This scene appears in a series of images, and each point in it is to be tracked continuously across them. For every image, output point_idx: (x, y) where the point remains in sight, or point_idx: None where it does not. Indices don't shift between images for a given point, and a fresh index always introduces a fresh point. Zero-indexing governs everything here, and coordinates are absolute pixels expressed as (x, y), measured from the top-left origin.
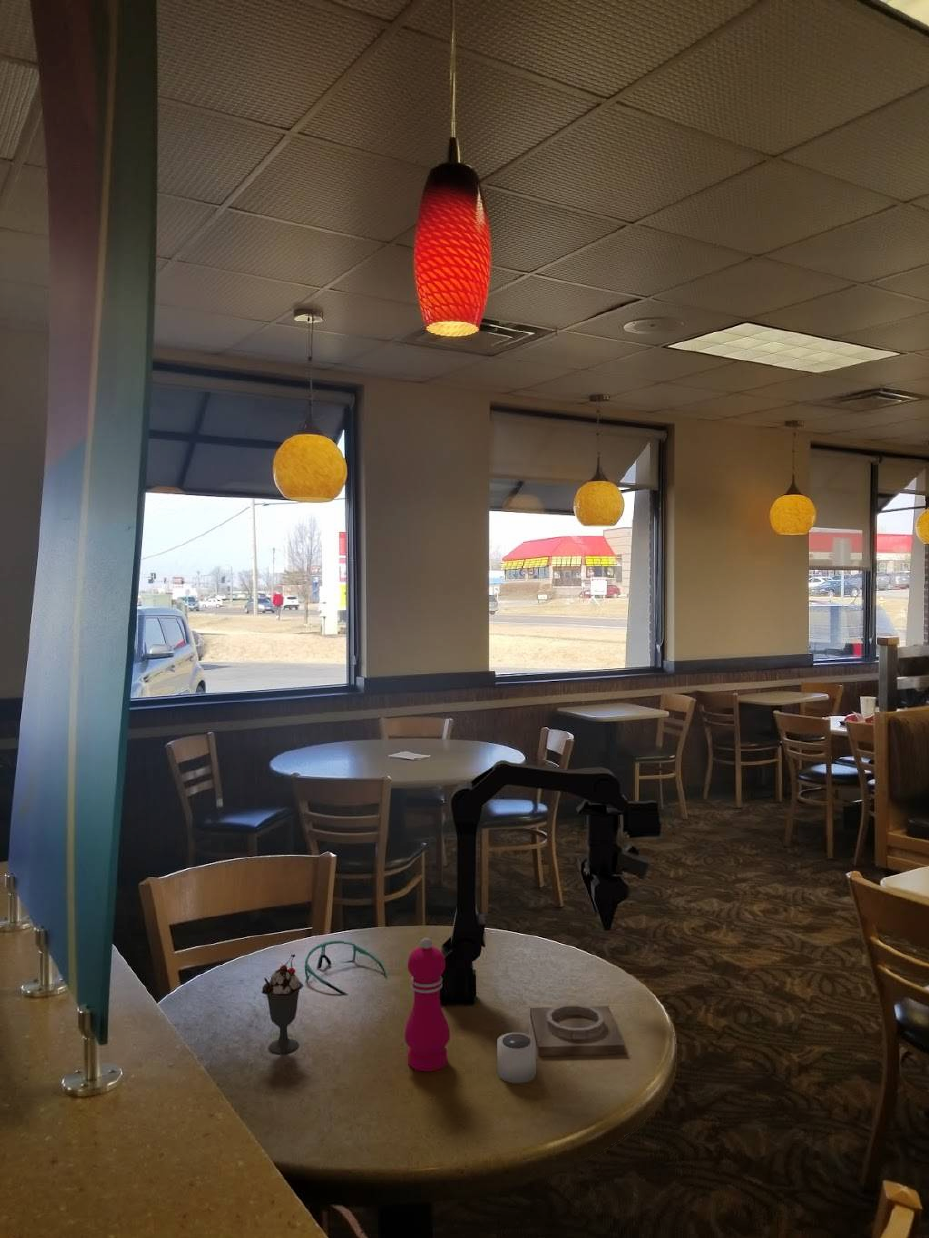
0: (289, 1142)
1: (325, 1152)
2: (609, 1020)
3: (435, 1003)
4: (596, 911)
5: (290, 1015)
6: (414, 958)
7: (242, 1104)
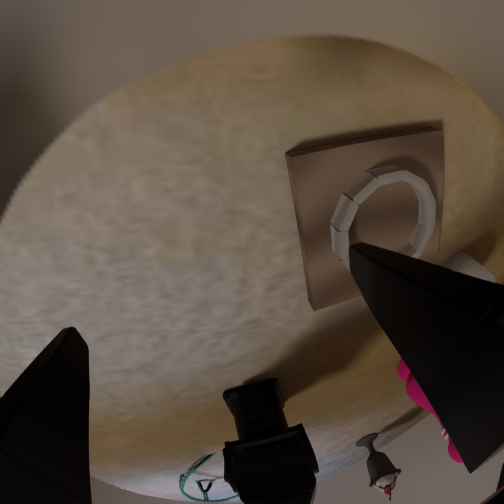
0: None
1: None
2: (362, 153)
3: None
4: (83, 347)
5: (386, 457)
6: None
7: None
